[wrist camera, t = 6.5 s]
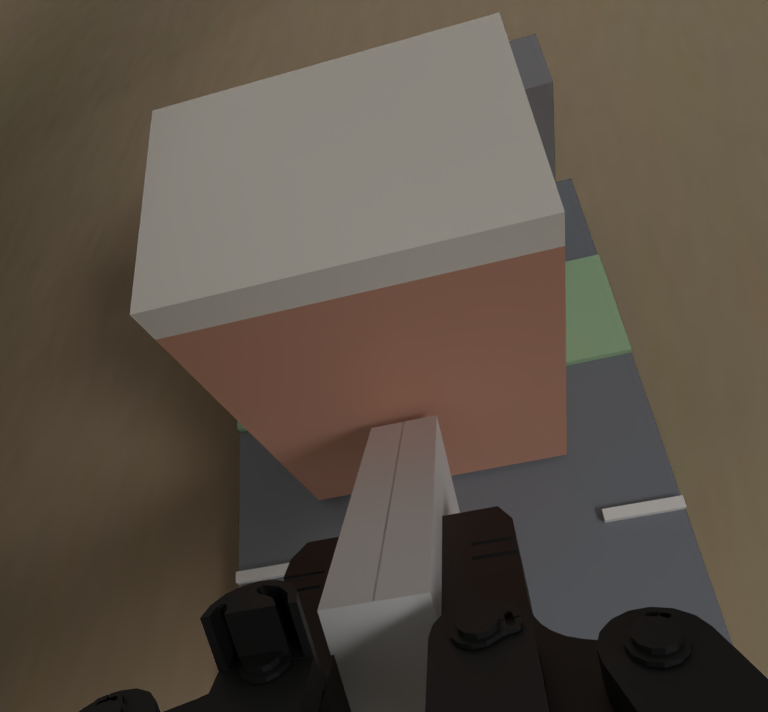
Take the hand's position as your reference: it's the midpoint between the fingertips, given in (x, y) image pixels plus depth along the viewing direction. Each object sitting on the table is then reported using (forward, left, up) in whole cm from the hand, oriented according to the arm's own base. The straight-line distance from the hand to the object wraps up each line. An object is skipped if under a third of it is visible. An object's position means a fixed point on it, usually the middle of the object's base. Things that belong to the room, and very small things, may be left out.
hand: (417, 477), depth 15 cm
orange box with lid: (0, -4, -4) cm, 5 cm away
